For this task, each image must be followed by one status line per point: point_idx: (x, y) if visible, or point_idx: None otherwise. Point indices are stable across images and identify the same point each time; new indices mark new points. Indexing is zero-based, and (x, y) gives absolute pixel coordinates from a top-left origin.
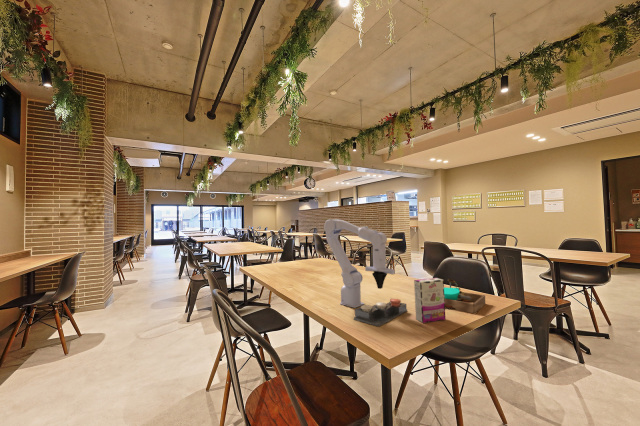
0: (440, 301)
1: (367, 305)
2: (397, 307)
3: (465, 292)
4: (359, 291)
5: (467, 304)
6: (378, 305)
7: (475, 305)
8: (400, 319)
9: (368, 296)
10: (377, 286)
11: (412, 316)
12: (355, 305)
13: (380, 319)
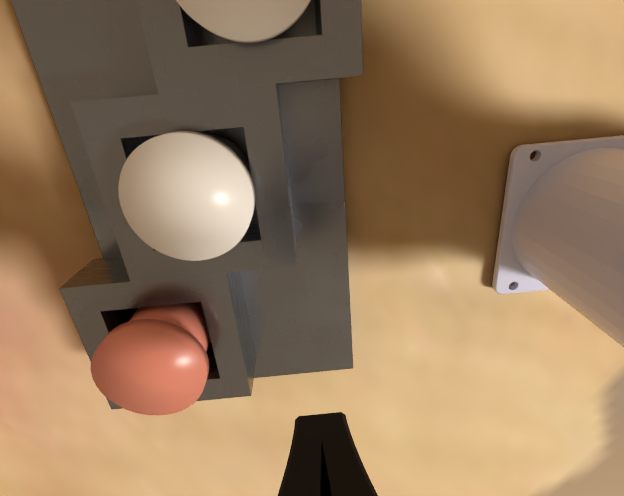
0: None
1: (261, 4)
2: (75, 286)
3: None
4: (613, 300)
5: None
6: (170, 133)
7: None
8: (37, 199)
9: (554, 434)
10: (346, 434)
11: (42, 316)
12: (535, 183)
13: (79, 5)
